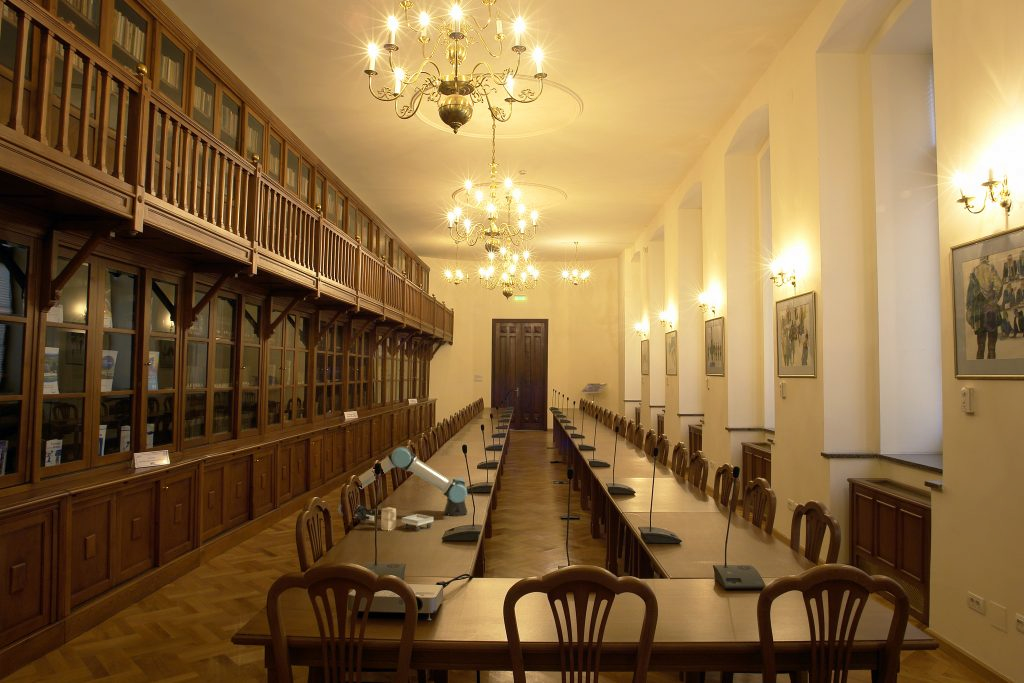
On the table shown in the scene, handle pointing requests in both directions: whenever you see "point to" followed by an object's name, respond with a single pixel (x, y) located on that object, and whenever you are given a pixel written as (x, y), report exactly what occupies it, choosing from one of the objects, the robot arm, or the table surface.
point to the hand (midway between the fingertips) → (382, 516)
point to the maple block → (388, 518)
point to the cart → (417, 521)
